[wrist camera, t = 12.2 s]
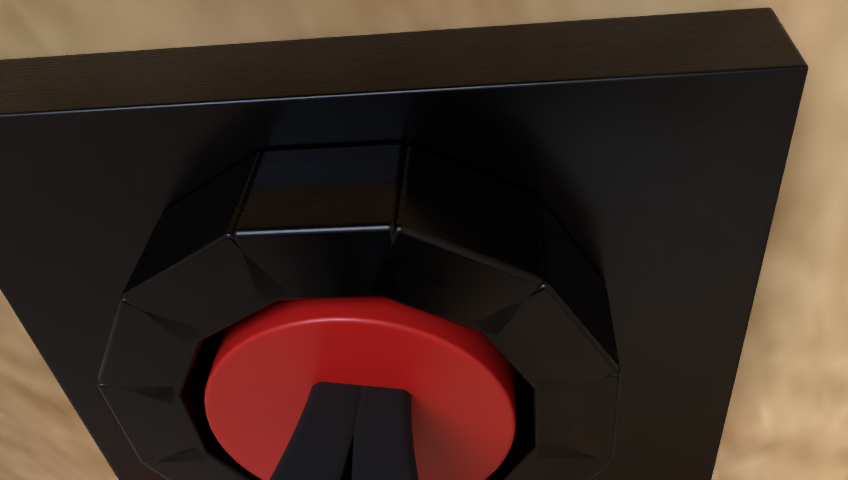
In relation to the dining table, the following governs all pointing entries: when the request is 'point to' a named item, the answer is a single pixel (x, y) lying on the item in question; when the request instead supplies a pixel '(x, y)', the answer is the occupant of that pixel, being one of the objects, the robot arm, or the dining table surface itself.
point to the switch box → (409, 220)
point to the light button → (362, 381)
